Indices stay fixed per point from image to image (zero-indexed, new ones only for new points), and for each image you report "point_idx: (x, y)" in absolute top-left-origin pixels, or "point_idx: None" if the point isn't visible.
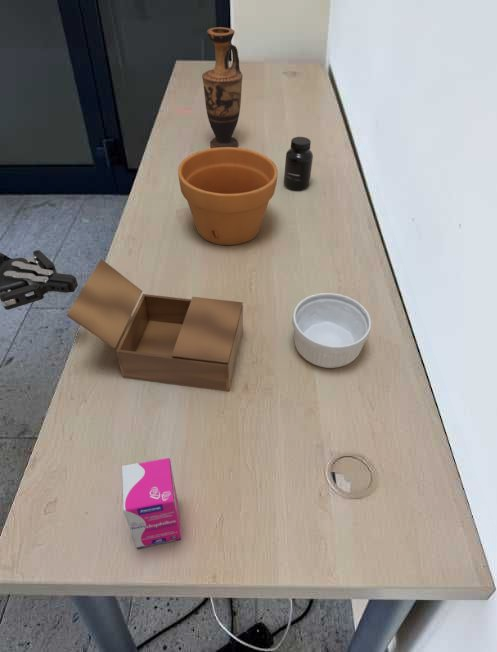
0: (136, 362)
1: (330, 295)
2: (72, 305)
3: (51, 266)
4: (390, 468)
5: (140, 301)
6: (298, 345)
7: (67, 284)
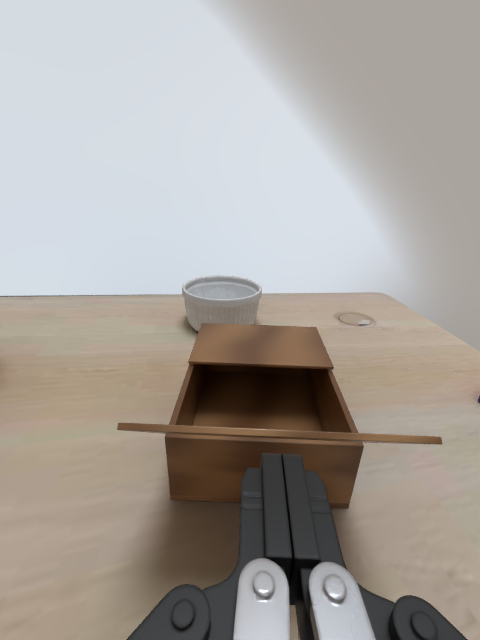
0: None
1: (185, 287)
2: (392, 437)
3: (199, 597)
4: (336, 307)
5: (193, 436)
6: (240, 321)
7: (308, 473)
